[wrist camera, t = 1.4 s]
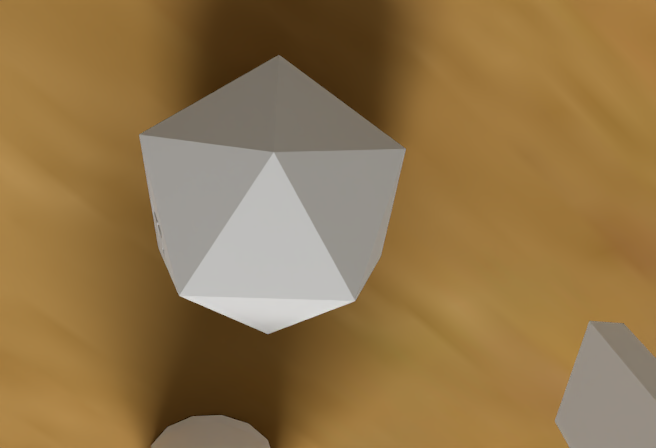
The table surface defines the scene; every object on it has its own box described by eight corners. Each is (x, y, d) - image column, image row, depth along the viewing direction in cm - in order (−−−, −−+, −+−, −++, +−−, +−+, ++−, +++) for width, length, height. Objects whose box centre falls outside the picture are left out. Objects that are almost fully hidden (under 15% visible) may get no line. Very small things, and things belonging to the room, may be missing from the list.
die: (250, 0, 21) (32, 122, 15) (471, 78, 18) (320, 266, 12) (251, 172, 27) (94, 313, 21) (419, 250, 24) (299, 438, 18)
